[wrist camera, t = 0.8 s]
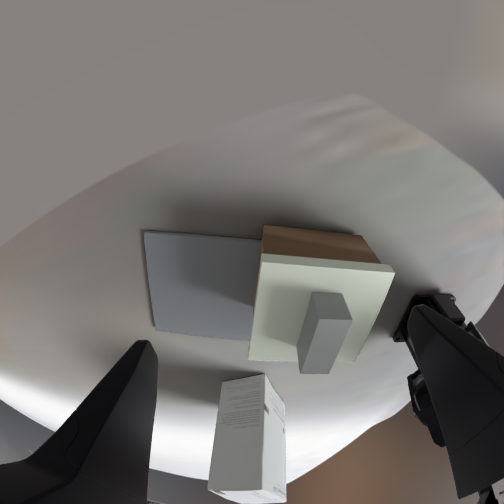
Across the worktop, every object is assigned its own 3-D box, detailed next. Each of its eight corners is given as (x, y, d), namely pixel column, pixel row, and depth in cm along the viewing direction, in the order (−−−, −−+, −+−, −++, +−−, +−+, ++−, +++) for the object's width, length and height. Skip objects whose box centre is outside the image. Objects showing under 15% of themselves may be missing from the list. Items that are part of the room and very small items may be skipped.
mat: (310, 340, 28) (311, 343, 28) (156, 327, 27) (155, 330, 27) (338, 247, 23) (340, 250, 22) (145, 230, 22) (143, 232, 22)
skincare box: (285, 402, 34) (291, 502, 21) (244, 410, 35) (241, 505, 22) (263, 370, 30) (266, 492, 17) (216, 380, 31) (205, 493, 18)
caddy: (337, 311, 25) (349, 350, 21) (252, 306, 25) (252, 348, 21) (361, 235, 22) (384, 268, 17) (263, 225, 21) (265, 258, 17)
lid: (349, 344, 22) (362, 385, 18) (248, 341, 22) (247, 386, 18) (384, 257, 18) (411, 296, 14) (261, 245, 18) (263, 288, 14)
